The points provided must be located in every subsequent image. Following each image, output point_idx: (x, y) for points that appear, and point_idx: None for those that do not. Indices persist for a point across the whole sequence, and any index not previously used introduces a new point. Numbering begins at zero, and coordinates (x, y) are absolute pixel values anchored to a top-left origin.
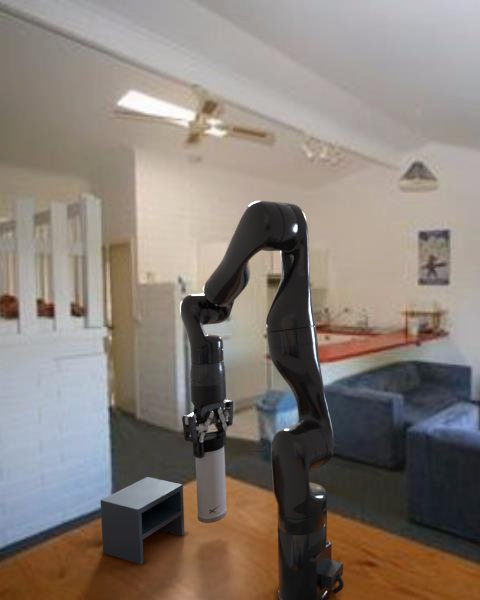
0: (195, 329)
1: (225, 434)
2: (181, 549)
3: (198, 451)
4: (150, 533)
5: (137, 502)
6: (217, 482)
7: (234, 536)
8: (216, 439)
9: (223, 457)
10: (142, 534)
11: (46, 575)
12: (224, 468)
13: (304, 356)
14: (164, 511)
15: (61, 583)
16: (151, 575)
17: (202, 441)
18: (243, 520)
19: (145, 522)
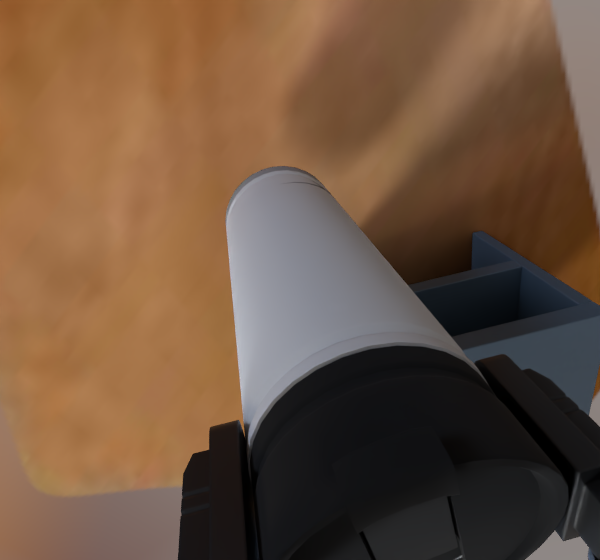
0: None
1: (189, 539)
2: (386, 200)
3: (566, 400)
4: (487, 267)
5: (564, 364)
6: (332, 222)
7: (244, 107)
8: (470, 435)
9: (299, 305)
10: (519, 270)
11: None
12: (271, 268)
13: None
14: None
15: None
16: (507, 158)
17: (586, 477)
18: (151, 171)
19: (463, 327)
